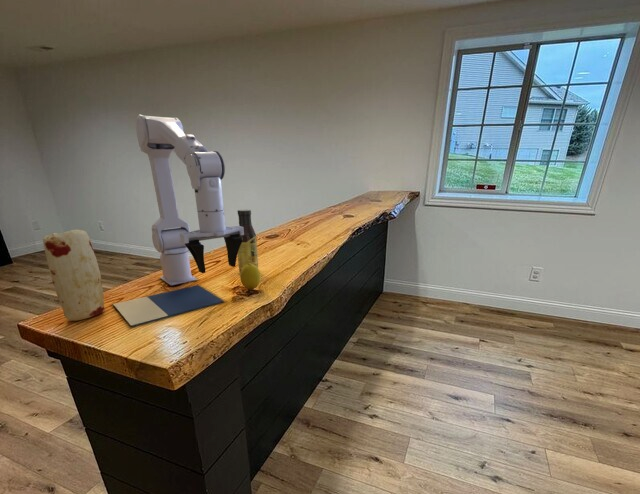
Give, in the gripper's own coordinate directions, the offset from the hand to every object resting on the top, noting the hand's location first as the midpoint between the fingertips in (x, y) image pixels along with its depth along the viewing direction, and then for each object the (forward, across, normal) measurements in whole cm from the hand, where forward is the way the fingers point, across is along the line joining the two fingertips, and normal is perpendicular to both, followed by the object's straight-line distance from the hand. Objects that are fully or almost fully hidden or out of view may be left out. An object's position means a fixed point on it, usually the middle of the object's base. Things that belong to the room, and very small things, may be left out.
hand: (217, 268), depth 83 cm
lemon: (+10, +12, +6) cm, 17 cm away
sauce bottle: (+10, +20, +21) cm, 31 cm away
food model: (+10, -26, +16) cm, 32 cm away
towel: (+10, -9, +11) cm, 17 cm away
